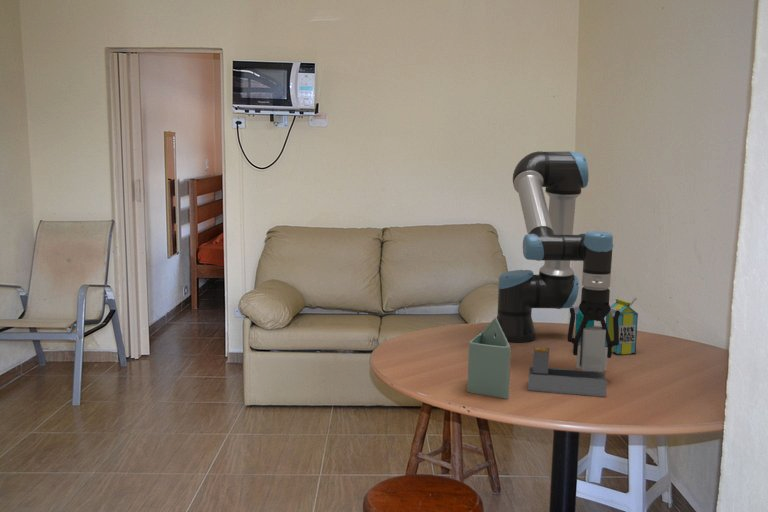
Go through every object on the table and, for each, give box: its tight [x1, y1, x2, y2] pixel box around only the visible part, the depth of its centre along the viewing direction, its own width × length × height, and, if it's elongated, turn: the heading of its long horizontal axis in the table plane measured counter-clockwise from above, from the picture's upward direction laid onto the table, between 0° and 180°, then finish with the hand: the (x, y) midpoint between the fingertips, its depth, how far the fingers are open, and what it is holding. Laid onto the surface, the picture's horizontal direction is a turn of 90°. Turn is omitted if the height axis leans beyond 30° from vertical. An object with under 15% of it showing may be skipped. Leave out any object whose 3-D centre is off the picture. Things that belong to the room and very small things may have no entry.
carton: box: [605, 297, 639, 356], centre depth 231 cm, size 7×8×18 cm
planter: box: [466, 317, 512, 400], centre depth 190 cm, size 16×8×20 cm, turn 20°
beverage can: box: [574, 310, 595, 343], centre depth 229 cm, size 6×6×15 cm
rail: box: [527, 346, 608, 398], centre depth 192 cm, size 8×20×11 cm, turn 77°
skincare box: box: [579, 326, 606, 372], centre depth 201 cm, size 6×4×12 cm
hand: (591, 367), depth 202 cm, fingers closed on skincare box, 7 cm apart
